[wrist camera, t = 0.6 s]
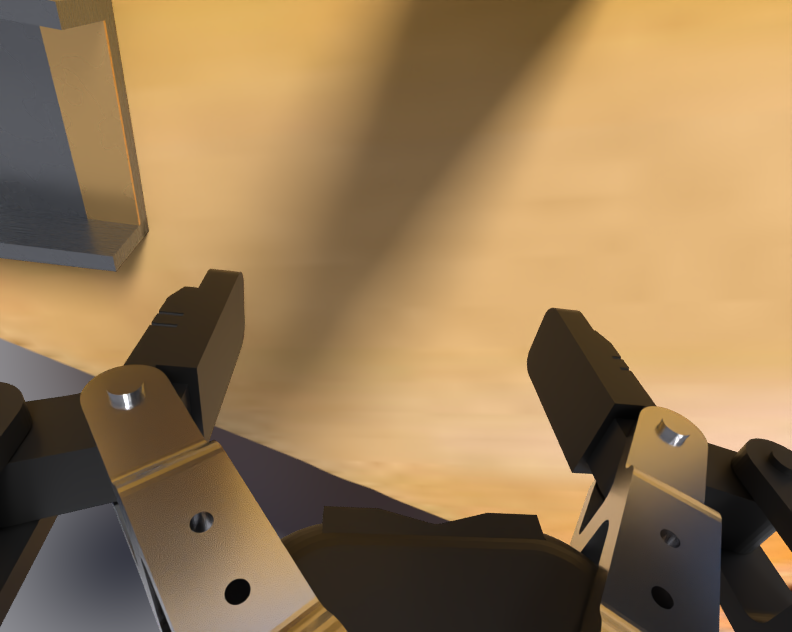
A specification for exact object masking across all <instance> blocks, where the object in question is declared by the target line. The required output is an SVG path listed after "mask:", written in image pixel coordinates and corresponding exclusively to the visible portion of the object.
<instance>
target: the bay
mask: <svg viewBox="0 0 792 632" xmlns="http://www.w3.org/2000/svg"><path fill="white" fill-rule="evenodd" d="M148 231H149V229H148V223H147V217H146V211H145V205H144V198H143V192H142V186H141V180H140V174H139V168H138V162H137V156H136V149H135V143H134V137H133V131H132V125H131V119H130V113H129V107H128V100H127V94H126V88H125V82H124V76H123V70H122V64H121V57H120V51H119V45H118V39H117V33H116V27H115V21H114V15H113V8H112V2H111V0H0V258H5V259H14V260H22V261H31V262H40V263H48V264H57V265H65V266H74V267H82V268H91V269H99V270H108V271H117V270H118V268H119V267H120V266H121V265H122V263H123V262H124V261H125V260H126V259H127V257H128V256H129V255H130V254H131V252H132V251H133V250H134V249H135V247H136V246H137V245H138V244H139V242H140V241H141V240H142V239H143V237H144V236H145V235H146V234H147V232H148Z"/></svg>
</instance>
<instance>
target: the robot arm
mask: <svg viewBox="0 0 792 632" xmlns="http://www.w3.org/2000/svg"><path fill="white" fill-rule="evenodd" d="M244 329H245V315H244V280H243V274H242V273H241V272H234V271H225V270H216V269H209V270H208V272H207V274H206V275H205V277H204V279H203V281H202V283H201V284H200V286H199V288H195V287H183V288H182V289H180V290H178V291H177V292H175V293H174V294H172V295H171V296H169V297H168V298H167V299H166V301H165V303H164V304H163V306H162V307H161V309H160V310H159V314H157V315H156V316H155V318H154V319H153V321H152V325H150V326H149V327H148V329H147V330H146V332H145V333H144V335H143V336H142V338H141V339H140V341H139V342H138V344H137V346H136V347H135V349H134V350H133V352H132V353H131V355H130V356H129V358H128V359H127V361H126V362H125V364H124V366H120V367H116V368H113V369H110V370H107V371H105V372H103V373H101V374H99V375H98V376H96V377H94V378H93V379H92V380H91V381H89V383H88V384H87V385H86V386H85V387H84V389H83V390H82V392H81V393H79V394H74V395H69V396H63V397H55V398H48V399H41V400H34V401H28V402H25V400H24V398H23V395H22V393H21V392H20V390H19V389H18V388H16V387H15V386H13V385H10V384H7V383H3V382H0V626H1V624H2V622H3V620H4V618H5V617H6V614H7V613H8V611H9V609H10V606H11V605H12V603H13V601H14V599H15V597H16V595H17V593H18V591H19V589H20V587H21V586H22V583H23V582H24V580H25V578H26V575H27V574H28V572H29V570H30V568H31V566H32V564H33V562H34V560H35V558H36V557H37V555H38V553H39V551H40V549H41V547H42V545H43V543H44V541H45V539H46V537H47V535H48V533H49V531H50V529H51V527H52V526H53V523H54V522H55V520H56V518H57V516H58V515H60V514H65V513H69V512H73V511H77V510H82V509H86V508H90V507H94V506H99V505H103V504H107V503H112V504H113V507H114V509H115V512H116V514H117V517H118V520H119V522H120V525H121V527H122V530H123V533H124V535H125V538H126V540H127V543H128V545H129V548H130V551H131V553H132V556H133V558H134V561H135V564H136V566H137V569H138V571H139V574H140V577H141V579H142V582H143V585H144V587H145V591H146V593H147V596H148V599H149V602H150V605H151V607H152V610H153V613H154V616H155V618H156V621H157V624H158V626H159V629H160V632H719V613H720V605H721V607H722V609H723V611H724V613H725V615H726V616H727V618H728V620H729V622H730V624H731V626H732V628H733V629H734V631H735V632H792V592H791V591H790V590H789V588H788V587H787V585H786V584H785V582H784V581H783V579H782V578H781V576H780V575H779V573H778V572H777V570H776V569H775V567H774V566H773V564H772V563H771V561H770V560H769V558H768V557H767V555H766V554H765V552H764V551H763V549H762V548H761V546H760V544H761V543H763V542H764V541H765V540H766V539H767V538H768V537H770V536H771V535H772V534H773V533H774V532H775V531H777V532H778V534H779V535H780V536H781V538H782V539H783V541H784V542H785V543H786V545H787V546H788V547H789V549H790V550H791V552H792V451H791V450H789V449H787V448H786V447H784V446H782V445H779V444H777V443H775V442H772V441H769V440H765V439H757V438H756V439H751V440H749V441H748V442H747V443H746V444H745V445H744V446H743V447H742V448H741V449H740V451H739V452H735V451H732V450H729V449H725V448H722V447H719V446H716V445H713V444H710V443H707V440H706V438H705V436H704V435H703V433H702V432H701V431H700V430H699V429H698V428H697V427H696V426H695V425H694V424H693V423H692V422H691V421H689V420H688V419H687V418H685V417H683V416H682V415H680V414H678V413H676V412H674V411H672V410H669V409H666V408H662V407H657V406H656V405H655V403H654V402H653V401H652V399H651V398H650V397H649V395H648V394H647V392H646V391H645V390H644V388H643V387H642V385H641V384H640V383H639V381H638V380H637V378H636V377H635V376H634V374H633V373H632V372H631V371H629V367H628V366H627V365H626V363H625V362H624V360H622V359H621V356H620V355H619V353H618V352H617V351H616V349H615V348H614V347H613V345H612V344H611V343H610V342H609V341H608V340H606V339H605V338H604V337H603V336H602V335H600V334H599V333H598V332H597V331H594V330H593V329H592V327H591V326H590V324H589V323H588V321H587V320H586V319H585V317H584V316H583V314H582V313H581V312H580V311H576V310H567V309H558V308H550V309H549V310H548V311H547V312H546V314H545V316H544V318H543V320H542V323H541V325H540V327H539V330H538V332H537V334H536V337H535V339H534V341H533V344H532V346H531V348H530V351H529V354H528V358H527V370H528V374H529V376H530V379H531V381H532V383H533V385H534V388H535V390H536V392H537V394H538V397H539V399H540V401H541V403H542V406H543V408H544V410H545V413H546V415H547V417H548V419H549V422H550V424H551V426H552V428H553V431H554V433H555V435H556V437H557V440H558V442H559V444H560V447H561V449H562V451H563V453H564V456H565V458H566V460H567V462H568V465H569V467H570V469H571V471H572V473H586V474H593V476H594V478H595V480H594V482H593V483H592V485H591V486H590V488H589V491H588V493H587V496H586V499H585V502H584V505H583V508H582V511H581V514H580V517H579V519H578V522H577V525H576V528H575V531H574V534H573V537H572V540H571V543H570V545H568V544H566V543H564V542H562V541H561V540H559V539H556V538H554V537H551V536H549V535H547V534H543V532H542V529H541V526H540V523H539V520H538V517H537V515H525V514H501V513H485V514H480V515H476V516H472V517H468V518H463V519H459V520H455V521H451V522H446V523H442V524H432V523H428V522H424V521H421V520H417V519H414V518H410V517H407V516H403V515H400V514H396V513H393V512H390V511H386V510H382V509H378V508H377V509H376V508H354V507H331V506H324V511H323V519H322V524H318V525H314V526H310V527H307V528H304V529H301V530H299V531H296V532H294V533H292V534H290V535H288V536H286V537H284V538H282V539H281V540H280V538H279V537H278V535H277V534H276V532H275V530H274V529H273V527H272V526H271V524H270V522H269V521H268V519H267V518H266V516H265V514H264V513H263V511H262V510H261V508H260V507H259V505H258V503H257V502H256V500H255V499H254V497H253V495H252V494H251V492H250V491H249V489H248V487H247V486H246V484H245V483H244V481H243V479H242V478H241V476H240V475H239V473H238V471H237V470H236V468H235V467H234V465H233V463H232V462H231V460H230V459H229V457H228V456H227V454H226V452H225V451H224V449H223V448H222V446H221V445H220V444H219V443H218V442H217V441H215V440H213V441H210V442H209V440H210V437H211V434H212V431H213V428H214V425H215V422H216V420H217V417H218V414H219V411H220V408H221V405H222V402H223V399H224V396H225V394H226V391H227V388H228V385H229V382H230V379H231V376H232V373H233V370H234V368H235V365H236V362H237V359H238V356H239V353H240V350H241V347H242V343H243V338H244Z"/></svg>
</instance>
